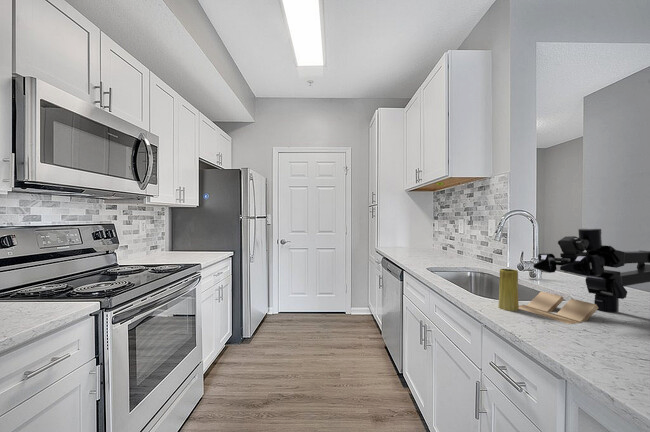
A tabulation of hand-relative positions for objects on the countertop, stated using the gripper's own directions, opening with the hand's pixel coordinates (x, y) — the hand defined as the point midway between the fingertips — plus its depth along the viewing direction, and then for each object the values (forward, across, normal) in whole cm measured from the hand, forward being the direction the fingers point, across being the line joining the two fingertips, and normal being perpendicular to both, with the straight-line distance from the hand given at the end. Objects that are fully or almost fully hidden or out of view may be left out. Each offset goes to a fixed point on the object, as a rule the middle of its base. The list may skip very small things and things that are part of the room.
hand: (546, 267), depth 103 cm
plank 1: (-6, -8, +14) cm, 17 cm away
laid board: (+1, -2, +16) cm, 16 cm away
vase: (+8, -10, +15) cm, 20 cm away
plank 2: (-6, +3, +15) cm, 16 cm away
